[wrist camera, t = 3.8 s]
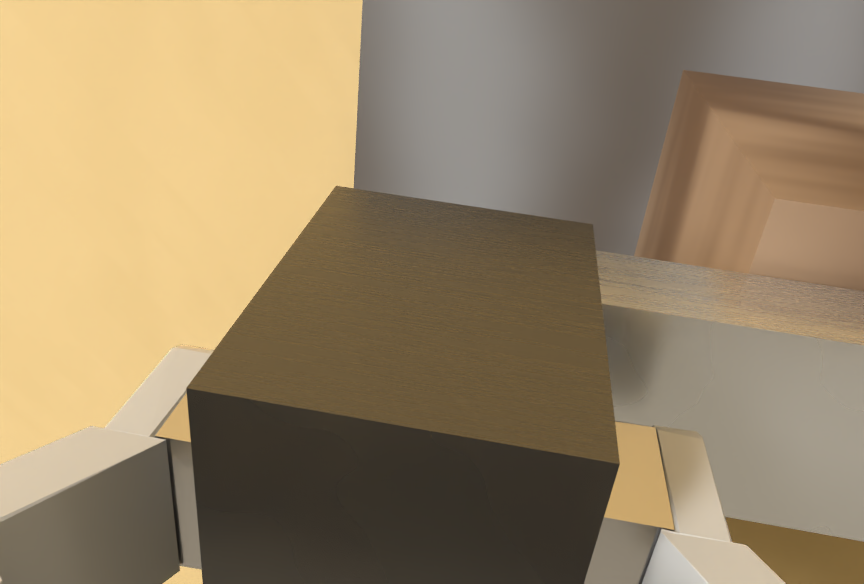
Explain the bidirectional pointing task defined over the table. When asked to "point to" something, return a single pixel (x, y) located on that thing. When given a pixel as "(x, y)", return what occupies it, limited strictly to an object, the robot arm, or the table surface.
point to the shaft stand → (631, 123)
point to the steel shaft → (503, 398)
